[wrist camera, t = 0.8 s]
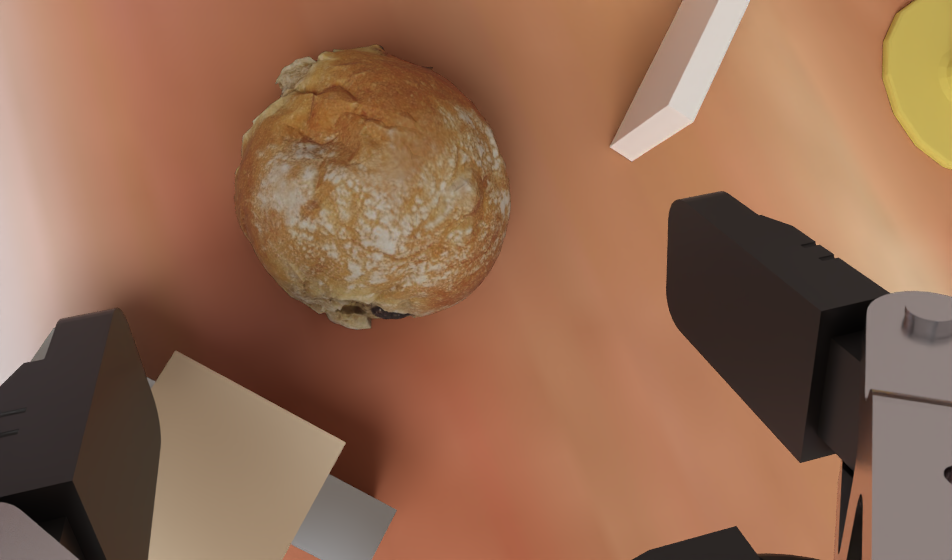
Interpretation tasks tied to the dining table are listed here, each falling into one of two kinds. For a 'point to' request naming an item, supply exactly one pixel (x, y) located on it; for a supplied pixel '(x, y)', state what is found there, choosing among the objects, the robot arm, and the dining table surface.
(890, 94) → the candle
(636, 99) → the box
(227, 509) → the scraper
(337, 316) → the bread roll
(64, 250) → the dining table surface
